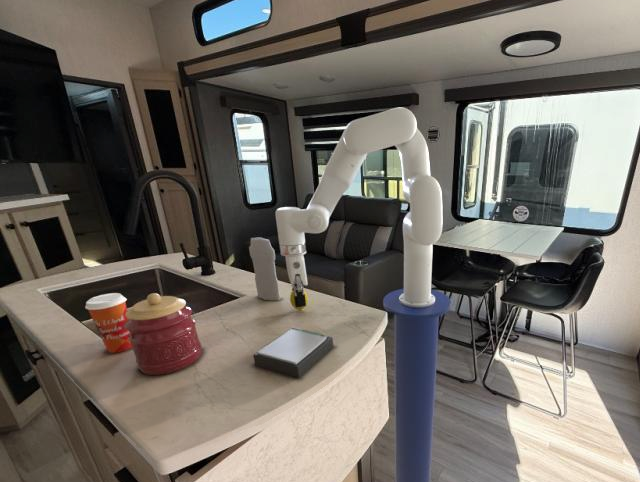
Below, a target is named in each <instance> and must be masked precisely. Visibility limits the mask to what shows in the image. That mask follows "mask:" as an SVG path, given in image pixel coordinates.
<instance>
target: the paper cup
mask: <svg viewBox="0 0 640 482" xmlns="http://www.w3.org/2000/svg"><path fill="white" fill-rule="evenodd" d="M127 300H128V299H127V298H126V297H125V296H124V295H122V293H120V292H119V293H118V292H111V293H104V294H99V295H97V296H93V297H91V298H90V299H88V300H87V301H86V302H85V309H86V310H88V313H89V315H90V317H91V319H92V321H93V323H94V325H95V328H96V330H97V332H98V333H99V336H100V338H101V340H102V342H103V344H104V346H105V348H106V350H107V352H109V353H111V354H115V353H121V352H125V351H127V350H130V349H131V348H132V345H131V342H129V340H128V337H129V335H130V333H129V331H128V330H126V329H125V328H124V323H125V321H126V320H127V319H128V318H127V317H126V316H125V314H126V312H127V311H128V307H127V303H126V301H127ZM132 349H133V348H132Z"/></svg>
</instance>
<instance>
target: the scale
mask: <svg viewBox="0 0 640 482" xmlns="http://www.w3.org/2000/svg"><path fill="white" fill-rule="evenodd" d="M333 348H334V338H333V336H330V335H324V334H323V333H318V332H315V331H309V330H305V329H298V328H294V327H292V328H291V329H289V330H287V331H286V332H284V333H282V334H281V335H280V336H278V337H277V338H276V339H274V340H272V341H271V342H269V343H268V344H267V345H266V346H264V347H262V348H261V349H259V350H258V351H256V352H255V353H254V354H252V356H253V361H254V366H257V367H261V368H264V369H267V370H270V371H273V372H277V373H281V374H283V375H287V376H291V377H294V378H298V379H300V378H301V377H302V376H303V375H304V374H306V373H307V372H308V371H309V370H310V369H311V368H312V367H313V366H315V364H317V363H318V362H319V361H320V360H321V359H322V358H323V357H325V355H326V354H328V353H329V352H330V351H331V350H332V349H333Z"/></svg>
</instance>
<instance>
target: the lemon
mask: <svg viewBox="0 0 640 482" xmlns="http://www.w3.org/2000/svg"><path fill="white" fill-rule="evenodd" d="M296 290H297V288H296ZM304 294H305V300H306V306H303V307H296V306H295V299H294V295H295V292H294V290H293V291H291V293H290V297H289V301H290V305H291V306H292V307H293V309H296V310H299V311H302V310H303V309H305V308H306V307H307V305H308V304H309V296H308V292H307V291H306V290H305V289H304Z"/></svg>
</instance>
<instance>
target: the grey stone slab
mask: <svg viewBox="0 0 640 482" xmlns="http://www.w3.org/2000/svg"><path fill="white" fill-rule="evenodd" d="M248 249H249V256H250V258H251V260H252V266H253V270H254V281H255V288H256V295H257V298H259V299H262V300H264V301H281V293H280V286H279V280H278V277H277V272H276V271H277V270H276V265H275V264H276V262H275V261H276V253H275V249H274V248H273V247H272V245H271V242H270V239H266V238H263V237H251V238H250V246H249V247H248Z"/></svg>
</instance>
